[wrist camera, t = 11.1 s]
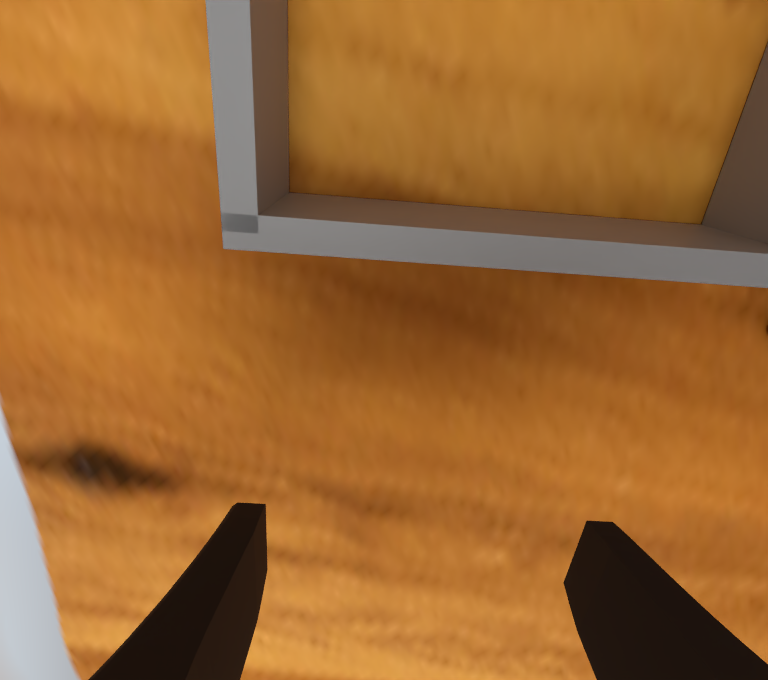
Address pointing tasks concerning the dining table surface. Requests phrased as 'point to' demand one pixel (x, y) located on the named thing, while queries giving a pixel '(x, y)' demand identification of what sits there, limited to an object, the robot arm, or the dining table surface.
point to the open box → (451, 222)
